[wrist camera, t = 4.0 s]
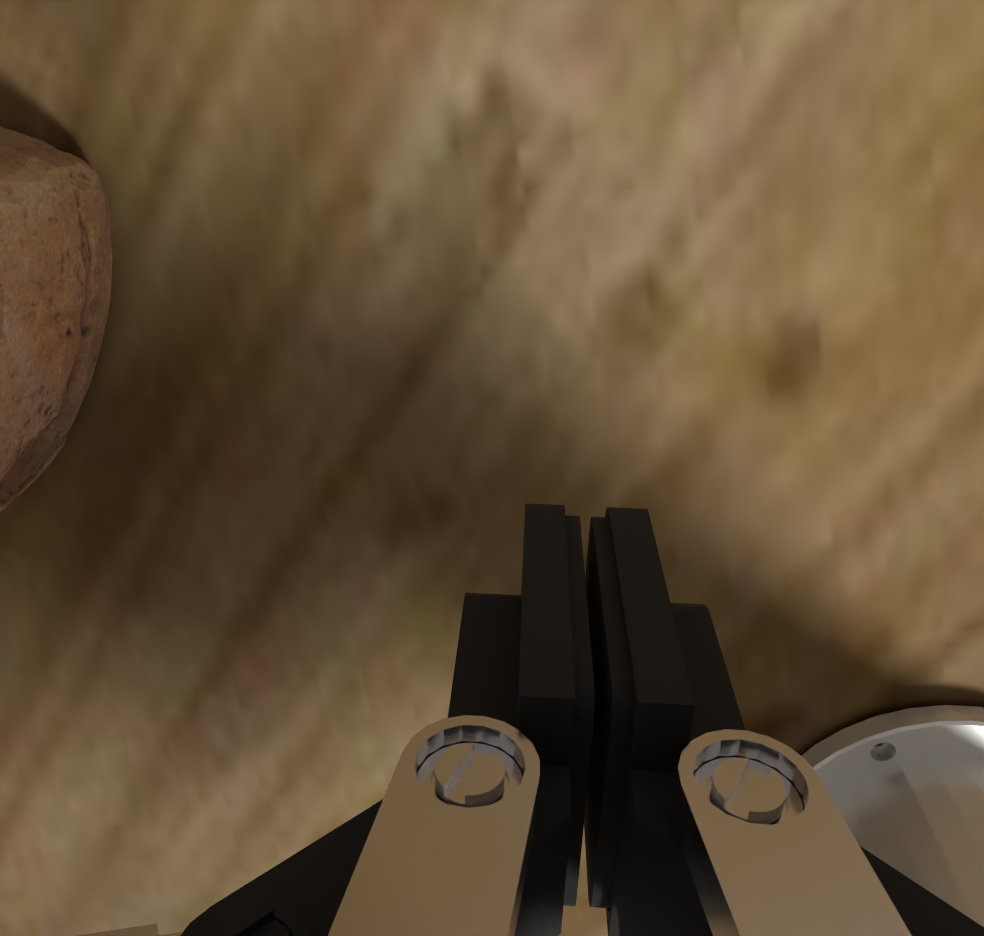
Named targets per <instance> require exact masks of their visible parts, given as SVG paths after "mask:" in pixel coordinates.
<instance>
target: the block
mask: <svg viewBox="0 0 984 936" xmlns="http://www.w3.org/2000/svg"><path fill="white" fill-rule="evenodd" d="M111 224H112V219H111V212H110V205H109V202H108V199H107V196H106V192H105V189H104V186H103V184H102V182H101V180H100V178H99V177H98V175H97V173H96V172H95V171H94V170H93V169H92V168H91V167H90V166H89V165H88V164H87V163H86V162H85V161H84V160H82V159H80V158H78V157H76V156H74V155H72V154H70V153H67V152H63V151H60V150H58V149H56V148H54V147H53V146H51V145H50V144H48V143H46V142H45V141H42V140H39V139H36V138H33V137H30V136H27V135H24V134H22V133H19V132H16V131H13V130H10V129H7V128H4V127H1V126H0V512H1V511H2V510H3V509H5V508H6V507H7V506H8V505H10V504H11V503H12V502H13V500H14V499H15V498H16V497H17V496H19V495H20V494H21V493H22V492H23V491H25V490H26V489H27V488H28V487H29V486H30V485H31V484H32V483H33V482H34V481H35V480H36V479H37V478H38V477H39V476H40V475H41V474H42V473H43V471H44V470H45V469H46V468H47V467H48V466H49V465H50V464H51V462H52V461H53V460H54V459H55V457H56V456H57V455H58V453H59V452H60V451H61V449H62V448H63V447H64V445H65V442H66V438H67V435H68V431H69V430H70V429H71V427H72V425H73V422H74V420H75V418H76V416H77V413H78V411H79V409H80V407H81V404H82V402H83V400H84V398H85V395H86V393H87V391H88V388H89V386H90V383H91V381H92V377H93V374H94V370H95V366H96V363H97V359H98V355H99V352H100V349H101V344H102V340H103V335H104V331H105V326H106V322H107V317H108V311H109V306H110V300H111V283H112V263H113V252H112V245H111V238H110V234H111Z"/></svg>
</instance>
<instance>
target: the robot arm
mask: <svg viewBox="0 0 984 936" xmlns="http://www.w3.org/2000/svg"><path fill="white" fill-rule="evenodd" d="M583 826H584V829H585V846H586V863H587V880H588V896H589V905H590V907H600V908H606V914H607V926H608V936H984V708H983V707H975V706H956V705H938V706H927V707H916V708H908V709H904V710H900V711H895V712H891V713H887V714H882V715H878V716H875V717H872V718H869V719H867V720H864V721H862V722H859V723H856V724H854V725H851V726H849V727H846V728H844V729H842V730H840V731H838V732H837V733H835V734H833V735H831V736H829V737H828V738H826V739H824V740H822V741H821V742H819V743H817V744H815V745H814V746H813V747H812V748H810V749H809V750H808V751H807V752H805V753H804V754H803V755H802V756H801V755H799V754H798V753H797V752H795V751H794V750H793V749H792V748H790V747H789V746H787V745H785V744H783V743H781V742H779V741H777V740H775V739H773V738H771V737H769V736H766V735H762V734H758V733H754V732H751V731H747V730H745V728H744V724H743V721H742V718H741V715H740V711H739V708H738V705H737V702H736V698H735V695H734V692H733V688H732V685H731V682H730V679H729V675H728V672H727V669H726V665H725V662H724V659H723V656H722V652H721V649H720V646H719V642H718V639H717V636H716V633H715V629H714V626H713V623H712V620H711V616H710V613H709V611H708V609H707V607H706V606H705V605H703V604H682V603H670V600H669V596H668V592H667V588H666V583H665V579H664V575H663V571H662V567H661V562H660V558H659V554H658V550H657V546H656V541H655V537H654V533H653V529H652V525H651V521H650V516H649V512H648V510H647V509H632V508H610V507H607V510H606V514H605V517H591V522H590V531H589V543H588V555H587V567H586V578H585V572H584V561H583V549H582V538H581V526H580V517H579V516H565V507H564V505H544V504H525V523H524V544H523V565H522V586H521V596H519V595H499V594H479V593H466V594H465V598H464V605H463V612H462V619H461V626H460V634H459V641H458V648H457V655H456V663H455V670H454V677H453V684H452V691H451V699H450V706H449V713H448V718H445V719H442V720H440V721H437V722H435V723H433V724H430V725H428V726H426V727H425V728H423V729H422V730H421V731H420V732H418V733H417V734H416V735H415V736H413V737H412V738H411V740H410V741H409V743H408V744H407V746H406V747H405V749H404V750H403V752H402V754H401V757H400V759H399V762H398V764H397V767H396V769H395V771H394V774H393V776H392V779H391V781H390V784H389V786H388V789H387V791H386V794H385V796H384V799H383V800H381V801H379V802H378V803H376V804H375V805H373V806H371V807H370V808H368V809H367V810H365V811H363V812H362V813H360V814H359V815H357V816H355V817H354V818H352V819H351V820H349V821H347V822H346V823H344V824H343V825H341V826H339V827H338V828H336V829H335V830H333V831H331V832H330V833H328V834H326V835H325V836H323V837H322V838H320V839H318V840H317V841H315V842H314V843H312V844H310V845H309V846H307V847H306V848H304V849H302V850H301V851H299V852H298V853H296V854H294V855H293V856H291V857H290V858H288V859H286V860H285V861H283V862H282V863H280V864H278V865H277V866H275V867H273V868H272V869H270V870H269V871H267V872H265V873H264V874H262V875H261V876H259V877H257V878H256V879H254V880H253V881H251V882H249V883H248V884H246V885H245V886H243V887H241V888H240V889H238V890H237V891H235V892H233V893H232V894H230V895H229V896H227V897H225V898H224V899H222V900H220V901H219V902H217V903H216V904H214V905H212V906H211V907H210V908H208V909H207V910H206V911H205V912H203V913H202V914H201V915H200V916H198V917H197V918H196V919H195V920H193V921H192V922H191V923H190V924H189V925H188V926H187V928H186V929H185V930H184V932H179V933H173V934H166V935H160V936H558V935H559V934H560V933H561V925H562V914H563V905H568V906H575V904H576V897H577V887H578V877H579V867H580V857H581V847H582V836H583ZM78 936H159V932H158V927H157V924H151V925H145V926H138V927H131V928H125V929H118V930H112V931H105V932H98V933H92V934H85V935H78Z"/></svg>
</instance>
